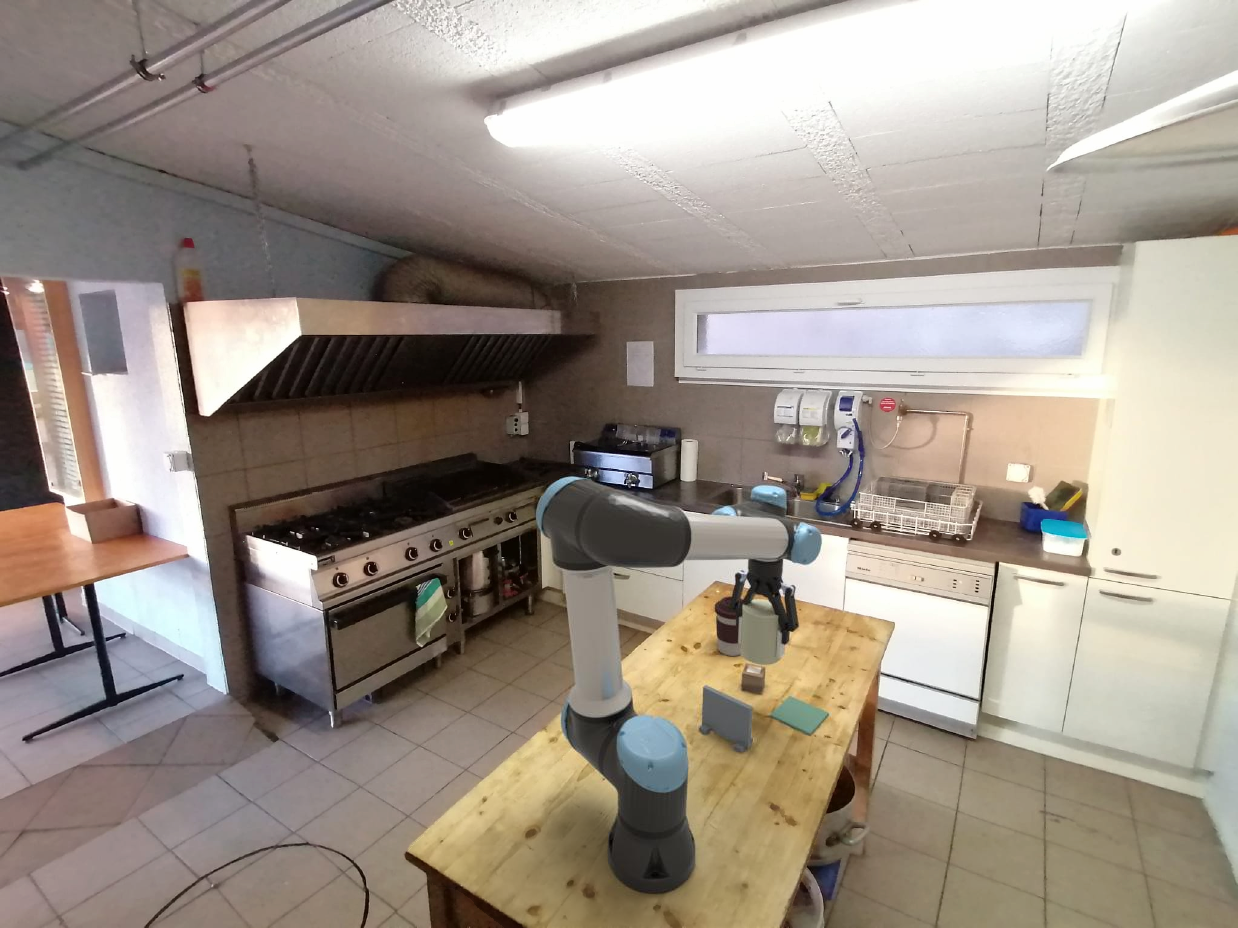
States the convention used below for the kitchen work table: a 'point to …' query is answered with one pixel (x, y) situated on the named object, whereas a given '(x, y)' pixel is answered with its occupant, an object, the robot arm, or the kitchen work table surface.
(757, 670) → the letter cube
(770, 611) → the can
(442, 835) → the kitchen work table surface
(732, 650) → the coffee cup
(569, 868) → the kitchen work table surface
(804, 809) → the kitchen work table surface
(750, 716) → the screen
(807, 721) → the mat
